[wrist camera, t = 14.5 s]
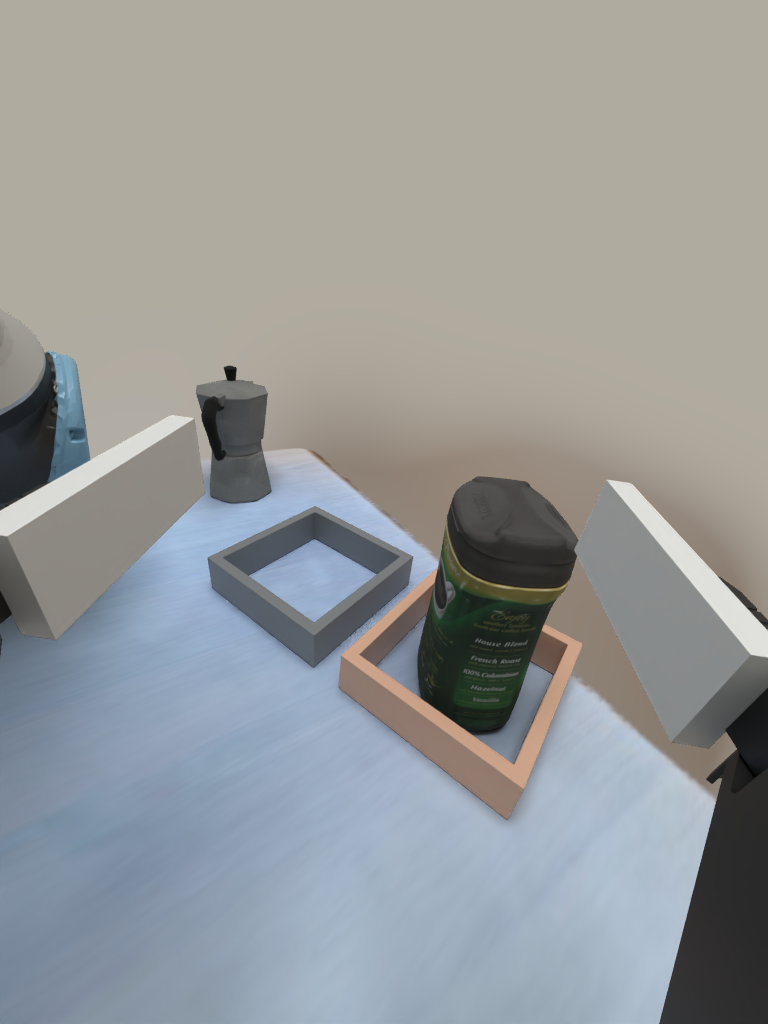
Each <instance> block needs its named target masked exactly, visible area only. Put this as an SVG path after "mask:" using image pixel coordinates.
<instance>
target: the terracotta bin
mask: <svg viewBox="0 0 768 1024" xmlns="http://www.w3.org/2000/svg"><path fill="white" fill-rule="evenodd" d="M437 570H438V569H436V570H435V571H433V572H432V573H431V574H430V575H429V576H428V577H427V578H426V579H425V580H424V581H422V582H421V583H420V584H419V585H418V586H417V587H416V588H415V589H414V590H413V591H411V592H410V593H409V594H408V595H407V596H406V597H405V598H404V599H403V600H402V601H400V602H399V603H398V604H397V605H396V606H395V607H394V608H393V609H392V610H391V611H389V612H388V613H387V614H386V615H385V616H384V617H383V618H382V619H381V620H380V621H378V622H377V623H376V624H375V625H374V626H373V627H372V628H371V629H370V630H369V631H367V632H366V633H365V634H364V635H363V636H362V637H361V638H360V639H359V640H358V641H356V642H355V643H354V644H353V645H352V646H351V647H350V648H349V649H348V650H347V651H345V652H344V653H343V654H342V655H341V665H340V679H339V688H340V689H341V690H343V691H344V692H345V693H346V694H348V695H349V696H350V697H352V698H353V699H354V700H355V701H357V702H358V703H359V704H360V705H362V706H363V707H364V708H366V709H367V710H368V711H369V712H371V713H372V714H373V715H374V716H376V717H377V718H378V719H380V720H381V721H382V722H383V723H385V724H386V725H387V726H388V727H390V728H391V729H392V730H394V731H395V732H396V733H397V734H399V735H400V736H401V737H402V738H404V739H405V740H406V741H408V742H409V743H410V744H411V745H413V746H414V747H415V748H416V749H418V750H419V751H420V752H421V753H423V754H424V755H425V756H427V757H428V758H429V759H430V760H432V761H433V762H434V763H435V764H437V765H438V766H439V767H441V768H442V769H443V770H444V771H446V772H447V773H448V774H449V775H451V776H452V777H453V778H455V779H456V780H457V781H458V782H460V783H461V784H462V785H463V786H465V787H466V788H467V789H469V790H470V791H471V792H472V793H474V794H475V795H476V796H477V797H479V798H480V799H481V800H483V801H484V802H485V803H486V804H488V805H489V806H490V807H491V808H493V809H494V810H495V811H497V812H498V813H499V814H500V815H502V816H503V817H504V818H505V819H508V817H509V815H510V814H511V812H512V810H513V808H514V806H515V804H516V803H517V801H518V799H519V797H520V795H521V794H522V792H523V790H524V788H525V785H526V783H527V780H528V778H529V775H530V773H531V770H532V768H533V765H534V763H535V760H536V758H537V756H538V753H539V751H540V748H541V746H542V743H543V741H544V738H545V736H546V733H547V731H548V728H549V726H550V723H551V721H552V719H553V716H554V714H555V711H556V709H557V706H558V704H559V701H560V699H561V696H562V694H563V691H564V689H565V686H566V684H567V681H568V679H569V677H570V674H571V672H572V669H573V667H574V664H575V662H576V659H577V657H578V654H579V652H580V649H581V647H582V643H580V642H578V641H576V640H574V639H572V638H570V637H568V636H566V635H564V634H562V633H560V632H558V631H556V630H555V629H553V628H551V627H549V626H547V625H544V626H543V628H542V631H541V634H540V636H539V639H538V642H537V644H536V647H535V650H534V652H533V655H532V657H531V660H530V661H531V662H533V663H535V664H536V665H538V666H540V667H542V668H543V669H545V670H547V671H549V672H550V673H552V674H554V675H553V677H552V679H551V682H550V684H549V686H548V688H547V690H546V693H545V695H544V697H543V699H542V701H541V704H540V706H539V708H538V710H537V713H536V715H535V717H534V719H533V721H532V724H531V726H530V728H529V730H528V733H527V735H526V737H525V739H524V741H523V744H522V746H521V748H520V750H519V752H518V755H517V757H516V759H515V761H514V764H512V763H511V762H509V761H508V760H507V759H505V758H504V757H502V756H501V755H500V754H498V753H497V752H495V751H494V750H492V749H491V748H490V747H488V746H487V745H485V744H484V743H483V742H481V741H480V740H478V739H477V738H476V737H474V736H473V735H471V734H470V733H469V732H467V731H466V730H464V729H463V728H462V727H460V726H459V725H457V724H456V723H455V722H453V721H452V720H450V719H449V718H447V717H446V716H445V715H443V714H442V713H440V712H439V711H438V710H436V709H435V708H433V707H432V706H431V705H429V704H428V703H426V702H425V701H424V700H422V699H421V698H419V697H418V696H417V695H415V694H414V693H412V692H411V691H410V690H408V689H407V688H405V687H404V686H402V685H401V684H400V683H398V682H397V681H395V680H394V679H393V678H391V677H390V676H388V675H387V674H386V673H384V672H383V671H381V670H380V669H379V668H377V667H376V665H377V664H378V663H379V662H380V661H381V660H382V659H383V658H384V657H385V656H386V655H387V654H388V653H389V652H390V651H391V650H392V649H393V648H394V646H395V645H396V644H397V643H398V642H399V641H400V640H401V639H402V638H403V637H404V636H405V635H406V634H407V633H408V632H409V631H410V630H411V629H412V628H413V627H414V626H415V625H416V624H417V623H418V622H419V621H420V620H421V619H422V618H423V617H424V616H425V614H426V613H427V612H428V608H429V604H430V599H431V595H432V591H433V587H434V582H435V578H436V574H437Z"/></svg>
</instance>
